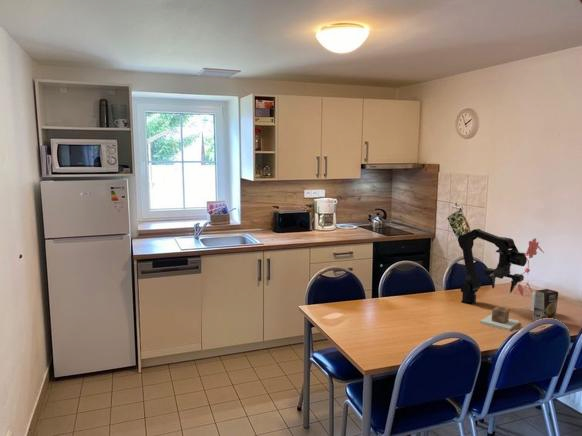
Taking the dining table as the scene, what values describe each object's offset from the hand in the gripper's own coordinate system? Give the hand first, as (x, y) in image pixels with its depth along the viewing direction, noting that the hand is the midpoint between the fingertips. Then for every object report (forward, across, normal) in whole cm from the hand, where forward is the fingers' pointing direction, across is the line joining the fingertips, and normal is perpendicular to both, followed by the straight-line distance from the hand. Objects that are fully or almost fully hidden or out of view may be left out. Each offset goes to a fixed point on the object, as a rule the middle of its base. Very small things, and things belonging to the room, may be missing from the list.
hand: (501, 290), depth 239 cm
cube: (+11, +6, -16) cm, 20 cm away
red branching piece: (+13, -1, +46) cm, 48 cm away
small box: (+12, +14, +15) cm, 24 cm away
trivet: (+12, +6, -16) cm, 21 cm away
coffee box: (+12, +21, +4) cm, 24 cm away
